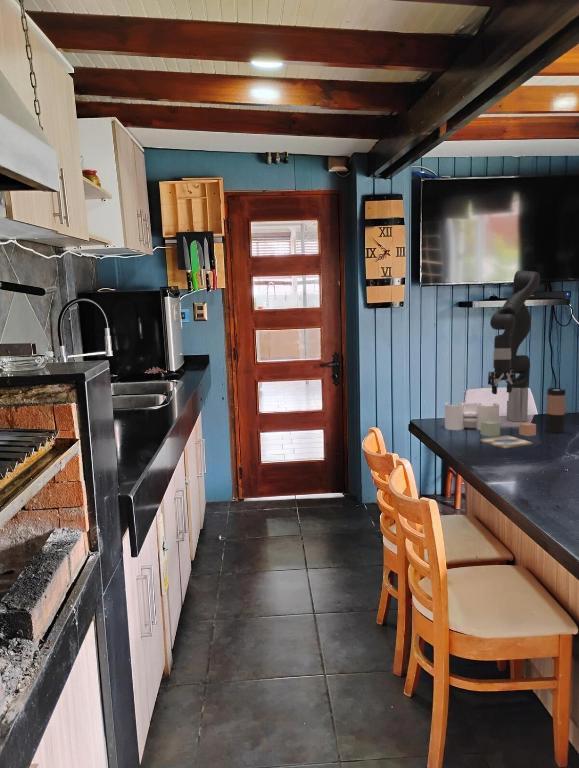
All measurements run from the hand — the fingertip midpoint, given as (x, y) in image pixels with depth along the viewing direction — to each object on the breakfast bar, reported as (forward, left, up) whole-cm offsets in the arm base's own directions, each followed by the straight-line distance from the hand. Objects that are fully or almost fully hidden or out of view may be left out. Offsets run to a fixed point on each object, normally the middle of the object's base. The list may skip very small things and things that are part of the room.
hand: (501, 393), depth 261 cm
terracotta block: (+7, +9, -19) cm, 22 cm away
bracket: (-15, -5, -19) cm, 25 cm away
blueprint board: (+14, -10, -19) cm, 26 cm away
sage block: (-1, -6, -19) cm, 20 cm away
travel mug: (+9, +23, -19) cm, 31 cm away
